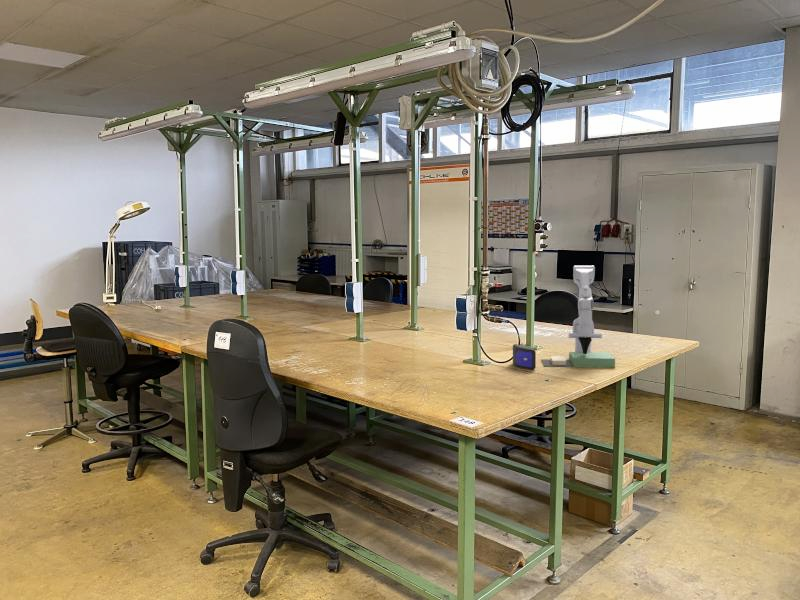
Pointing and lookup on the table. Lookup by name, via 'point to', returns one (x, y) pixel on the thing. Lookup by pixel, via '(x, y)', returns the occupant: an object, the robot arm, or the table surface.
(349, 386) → the table surface
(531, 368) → the framed blue square panel
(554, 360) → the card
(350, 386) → the table surface
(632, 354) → the table surface
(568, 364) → the mat
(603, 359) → the block
